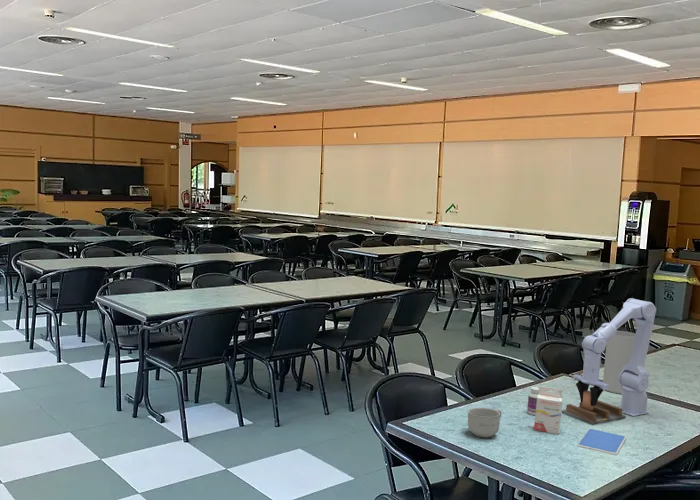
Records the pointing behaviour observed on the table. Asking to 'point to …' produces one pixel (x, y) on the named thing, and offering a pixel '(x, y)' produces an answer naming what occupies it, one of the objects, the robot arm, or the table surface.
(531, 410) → the pill bottle
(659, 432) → the table surface
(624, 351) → the cylinder vase
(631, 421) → the table surface
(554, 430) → the ink cartridge box
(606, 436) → the tablet computer
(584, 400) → the terracotta plug
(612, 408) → the comb rack
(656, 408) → the table surface
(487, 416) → the teacup
